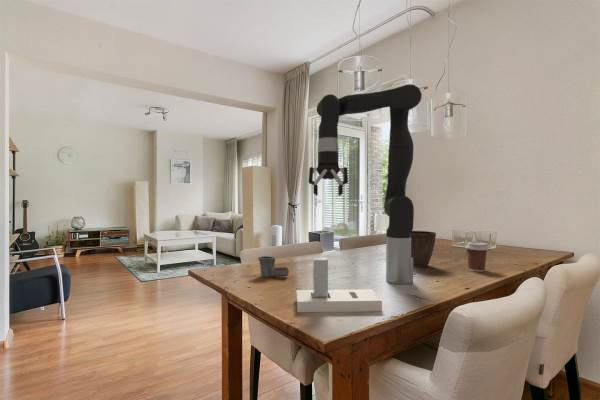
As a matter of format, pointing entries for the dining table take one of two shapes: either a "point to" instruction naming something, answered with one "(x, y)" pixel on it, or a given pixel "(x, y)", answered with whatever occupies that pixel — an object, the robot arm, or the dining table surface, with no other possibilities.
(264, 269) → the pipe
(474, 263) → the coffee cup
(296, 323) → the dining table surface
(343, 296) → the socket plank
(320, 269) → the gray square peg
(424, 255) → the plant pot
